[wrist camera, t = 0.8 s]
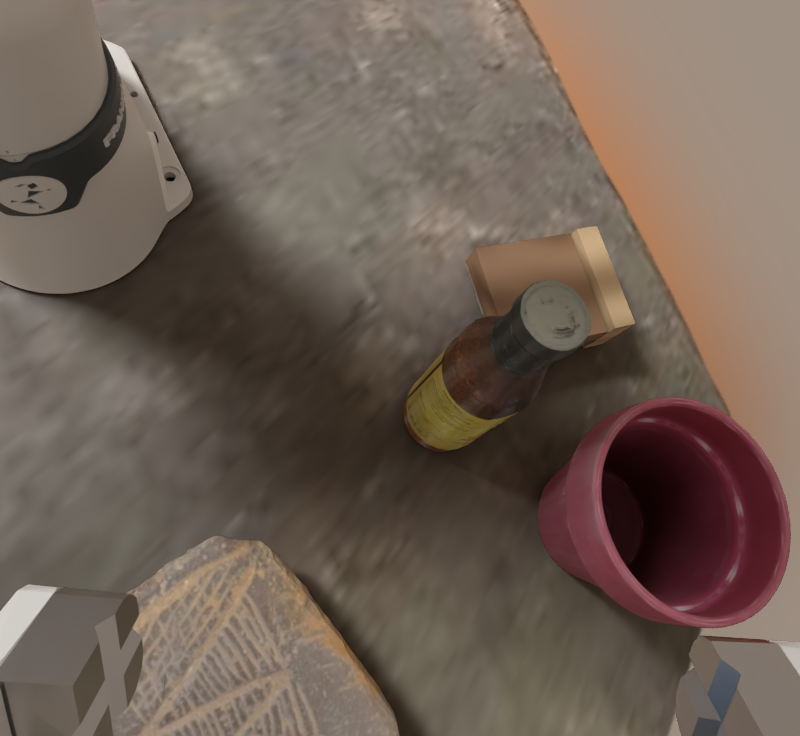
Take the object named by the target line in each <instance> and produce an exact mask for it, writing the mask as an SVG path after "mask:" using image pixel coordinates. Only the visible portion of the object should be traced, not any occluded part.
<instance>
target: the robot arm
mask: <svg viewBox="0 0 800 736" xmlns="http://www.w3.org/2000/svg"><path fill="white" fill-rule="evenodd" d="M168 177H173V178H175V180H174V181H171V182H170V181H167V180H166V179H167V178H168ZM192 198H193V192H192V189H191V185H190V183H189V180H188V178H187V176H186V174H185V172H184V170H183V168H182V166H181V164H180V162H179V160H178V158H177V156H176V154H175V151H174V149H173V147H172V145H171V143H170V141H169V139H168V137H167V135H166V133H165V131H164V129H163V127H162V124H161V122H160V120H159V118H158V116H157V114H156V112H155V110H154V108H153V106H152V104H151V102H150V100H149V97H148V95H147V93H146V91H145V89H144V87H143V85H142V83H141V81H140V79H139V77H138V75H137V73H136V70H135V68H134V66H133V64H132V62H131V60H130V58H129V56H128V54H127V53H126V51H125V50H124V49H123V48H122V47H120V46H118V45H116V44H113V43H111V42H108V41H105V40H102V38H101V36H100V34H99V30H98V26H97V22H96V18H95V14H94V10H93V6H92V2H91V0H0V280H1V281H3V282H5V283H7V284H10V285H12V286H15V287H18V288H21V289H25V290H29V291H34V292H40V293H51V294H65V293H76V292H82V291H87V290H91V289H95V288H98V287H101V286H104V285H106V284H109V283H111V282H113V281H115V280H117V279H119V278H121V277H122V276H124V275H126V274H127V273H129V272H130V271H131V270H133V269H134V268H135V267H136V266H138V265H139V264H140V263H141V262H142V261H143V260H144V259H145V257H146V256H147V255H148V254H149V253H150V251H151V250H152V248H153V247H154V245H155V244H156V242H157V240H158V238H159V236H160V234H161V232H162V230H163V228H164V227H165V225H166V224H167V223H168V221H169V220H171V219H172V218H173V217H175V216H176V215H177V214H179V213H180V212H181V211H182V210H184V209H185V208H186V207H187V206H188V205H189V204H190V202H191V201H192ZM138 616H139V609H138V603H137V597H136V596H134V595H132V594H126V593H116V592H106V591H96V590H86V589H76V588H66V587H63V588H58V587H49V586H39V585H29V584H28V585H27V586H25V587H23V588H21V589H19V590H18V591H17V592H16V593H15V594H14V595H13V596H12V598H11V599H10V600H9V601H8V603H7V604H6V605H5V606H4V607H3V609H2V610H1V611H0V736H113V730H112V723H111V721H112V720H113V719H114V718H116V717H117V716H118V715H119V714H121V713H122V712H123V711H125V710H126V709H127V708H128V706H129V704H130V702H131V700H132V698H133V695H134V693H135V691H136V688H137V684H138V681H139V677H140V673H141V669H142V661H143V643H142V637H141V636H140V635H139V634H138V633H137V632H136V631H135V630H134V629H133V626H134V624H135V622H136V620H137V618H138ZM689 657H690V659H691V661H692V663H693V665H694V668H693V669H692V670H690V671H689V672H688V673H686V674H685V675H684V676H682V677H681V678H680V682H679V685H678V689H677V692H676V716H677V721H678V725H679V729H680V732H681V735H682V736H800V642H794V641H778V640H769V641H767V640H760V639H745V638H730V637H712V636H699V637H698V638H697V639H696V640H695V641H694V642H693V644H692V647H691V650H690V652H689Z"/></svg>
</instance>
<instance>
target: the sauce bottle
mask: <svg viewBox="0 0 800 736" xmlns="http://www.w3.org/2000/svg"><path fill="white" fill-rule="evenodd" d="M590 330H591V317H590V313H589V311H588V308H587V306H586V304H585V302H584V301H583V299H582V298H581V297H580V296H579V294H578V293H577V292H576V291H574V290H573V289H572V288H571V287H569V286H567V285H566V284H564V283H561V282H558V281H553V280H545V281H540V282H537V283H534V284H532V285H531V286H530V287H528V288H527V289H526V290H525V291H524V292H523V293H522V294H521V295H519V296H518V297H517V299H516V300H515V302H514V303H513V306H512V308H511V310H510V311H509V312H508V313H506V314H505V315H504V316H487V317H484V318H480V319H477V320H475V322H474V323H472V324H471V325H469V326H468V327H467V328H466V329H465V330H464V331H463V332H462V333H461V334H460V335H459V336H458V337H457V338H455V339H454V340H453V341H452V342H451V343H450V344H449V345H448V346H447V348H446V349H445V350H444V351H443V352H442V353H441V354H440V356H439V357H438V358H437V359H436V360H435V361H434V362H433V364H432V365H431V366H430V367H429V368H428V369H427V370H426V372H425V373H424V374H423V375H422V376H421V377H420V378H419V379H418V381H417V382H416V383H415V384H414V385H413V387H412V388H411V390H410V392H409V394H408V396H407V399H406V401H405V403H404V406H403V416H404V421H405V423H406V426H407V429H408V431H409V433H410V435H411V436H412V438H413V439H414V440H416V441H417V443H419V444H421V445H422V446H423V447H425V448H427V449H430V450H432V451H437V452H445V451H450V450H454V449H459V448H462V447H464V446H466V445H468V444H470V443H471V442H472V441H474V440H476V439H477V438H479V437H480V436H482V435H483V434H485V433H487V432H489V431H491V430H492V429H493V428H494V427H496V426H498V425H499V424H501V423H503V422H504V421H506V420H507V419H509V418H510V417H512V416H513V415H515V414H517V413H518V412H520V411H521V410H523V409H524V408H526V407H527V406H528V405H529V404H530V403H531V402H532V401H533V400H534V399H535V397H536V396H537V394H538V392H539V391H540V388H541V385H542V383H543V380H544V377H545V375H546V372H547V370H548V367H549V366H550V365H551V364H552V363H553V362H555V361H556V360H560V359H563V358H565V357H567V356H569V355H571V354H572V353H573V352H575V351H576V350H577V349H578V348H579V347H581V346H582V344H583V343H584V342H585V340H586V339H587V337H588V334H589V332H590Z"/></svg>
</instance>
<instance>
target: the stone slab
mask: <svg viewBox="0 0 800 736" xmlns="http://www.w3.org/2000/svg"><path fill="white" fill-rule="evenodd" d="M126 594H132V595H134V596H136V597H137V603H138V609H139V616H138V618H137V620H136V622H135V624H134V626H133V629H134V630H135V631H136V632H137V633H138V634H139V635H140V636H141V637H142V643H143V661H142V669H141V673H140V677H139V681H138V684H137V688H136V691H135V693H134V695H133V698H132V700H131V702H130V704H129V706H128V708H127V709H126V710H125V711H123V712H122V713H121V714H119V715H118V716H117V717H116V718H114V719H113V720H112V721H111V723H112V730H113V736H400V735H399V730H398V724H397V721H396V717H395V714H394V712H393V710H392V708H391V706H390V705H389V703H388V702H387V700H386V699H385V697H384V695H383V693H382V692H381V690H380V688H379V686H378V685H377V683H376V682H375V681H374V679H373V678H372V677H371V675H370V674H369V673H368V672H367V671H366V669H365V668H364V666H363V664H362V663H361V662H360V661H359V659H358V658H357V657H356V656H355V654H354V653H353V652H352V650H351V649H350V648H349V646H348V645H347V643H346V642H345V640H344V639H343V637H342V636H341V634H340V633H339V631H338V630H337V629H336V628H335V627H334V626H333V625H332V623H331V621H330V620H329V618H328V617H327V616H326V615H325V614H324V612H323V611H322V610H321V608H320V607H319V605H318V604H317V603H316V602H315V601H314V599H313V598H312V596H311V595H310V593H309V591H308V589H307V587H306V586H305V585H304V584H303V583H302V582H301V581H300V580H299V579H298V578H297V577H296V576H295V574H294V573H293V572H292V571H291V569H290V568H289V567H288V566H287V564H286V563H285V562H284V561H283V560H282V559H281V558H280V555H278V554H277V553H276V552H274V551H273V550H271V549H270V548H268V547H267V546H266V545H265V543H263V542H261V541H254V540H237V539H232V538H227V537H222V536H217V535H216V536H213V537H210V538H209V539H207V540H206V541H204V542H203V543H201V544H199V545H198V546H196V547H194V548H191V549H188V550H187V552H186V554H185V555H183V556H181V557H179V558H177V559H175V560H172V561H170V562H169V563H168V564H166V565H165V566H164V567H163V568H162V569H160V570H158V572H157V573H156V574H155V575H154V576H152V577H151V578H149V579H148V580H146V581H145V582H143V583H142V584H141V585H140V586H139V587H137V588H135V589H133V590H130V591H128V592H127V593H126Z"/></svg>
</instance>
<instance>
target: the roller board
mask: <svg viewBox="0 0 800 736" xmlns="http://www.w3.org/2000/svg"><path fill="white" fill-rule="evenodd" d="M466 263H467V266H466V269H467V272H468V275H469V278H470V281H471V283H472V286H473V289H474V292H475V295H476V298H477V301H478V304H479V307H480V310H481V313H482V316H483V318H484V317H487V316H504V315H505V314H506V313H508V312H509V311H510V310H511V308H512V306H513V303H514V302H515V300H516V299H517V297H518V296H519V295H521V294H522V293H523V292H524V291H525V290H526V289H527V288H528V287H530V286H531V285H532V284H534V283H537V282H540V281H545V280H553V281H558V282H561V283H564V284H566V285H567V286H569V287H571V288H572V289H573V290H574V291H576V292H577V293H578V294H579V296H580V297H581V298H582V299H583V301H584V302H585V304H586V306H587V308H588V311H589V313H590V317H591V330H590V332H589V334H588V337H587V339H586V340H585V342H584V343H583V344H582V346H583V348H587V347H591V346H596V345H600V344H603V343H605V342H606V341H608V340H610V339H611V338H613V337H614V336H616V335H618V334H619V333H621V332H623V331H624V330H626V329H628V328H629V327H631V326H633V325H634V324H635V321H634V319H633V316H632V314H631V311H630V309H629V306H628V304H627V301H626V298H625V296H624V293H623V291H622V288H621V286H620V283H619V281H618V278H617V276H616V273H615V271H614V268H613V266H612V263H611V261H610V258H609V256H608V253H607V251H606V248H605V245H604V243H603V240H602V238H601V235H600V233H599V230H598V228H597V226H594V227H588V228H581V229H577V230H576V231H575V232H574V233H573V234H572V235H571V234H570V233H569V234H562V235H556V236H550V237H544V238H538V239H531V240H525V241H519V242H513V243H507V244H500V245H494V246H488V247H482V248H475V250H474V251H473V252H472V254H471V255H470V256H469V258H468V259H467V260H466Z"/></svg>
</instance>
